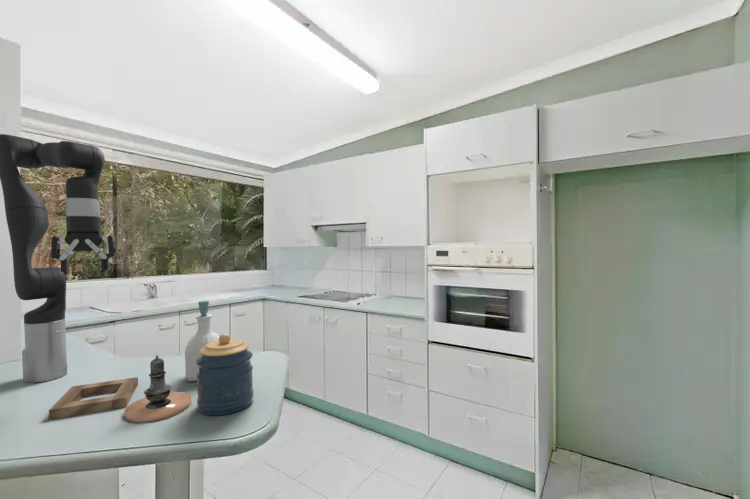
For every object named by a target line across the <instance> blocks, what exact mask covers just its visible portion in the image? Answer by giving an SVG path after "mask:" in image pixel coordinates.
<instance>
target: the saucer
mask: <svg viewBox="0 0 750 499" xmlns="http://www.w3.org/2000/svg"><path fill="white" fill-rule="evenodd" d="M167 399H170V400H171V402H170V404H168V405H166V406H164V407H161V408H156V409H148V408H146V405H147V404H148V403H149V402H151V401H149V400H147V398H146V396H145V397H142V398H140V399H137V400H136V401H134V402H132V403H131V404H130V403H129V405H127V407H126V408H125V410H124V419H125V420H127V421H129V422H132V423H150V422H156V421H160V420H165V419H168V418H171V417H174V416H177V415H178V414H180V413H182V412H184V411H186V410H187V409H188V408H189V407H190V406H192V396H191V395H190V394H189V393H186V392H182V391H170V394H169V396H168V397H167Z"/></svg>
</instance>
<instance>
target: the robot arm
mask: <svg viewBox="0 0 750 499" xmlns="http://www.w3.org/2000/svg"><path fill="white" fill-rule="evenodd" d="M105 161H106V159H105V155H104V152H103V151H102V150H101V149H100V148H99V147H97V146H95V145H89V144H85V143H81V142H75V141H69V140H61V141H59V142H53V141H52V142H46V143H42V142H39V141H36V140H34V139H29V138H26V137H21V136H15V135H12V134H11V135H10V134H4V133H0V184H1V188H2V194H3V202H4V212H5V219H6V223H7V228H8V229H7V230H8V232H9V239H10V244H11V253H12V265H13V280H14V283H13V284H14V289H15V290H14V291H15V292H16V295H17V297H18V298H19V299H20V300H22V301H32V300H33V301H34V300H41V299H46V301H45V302H43V303H42V304H41V305H39V306H38V307H36V308H34V309H32V310H29V311H27V312H26V313H25V314H24V315H23V328H24V331H23V332H24V349H22V350H21V356H22V357H21V358H22V359H21V360H22V382H23V383H42V382H47V381H52V380H56V379H59V378H61V377H64V376H65V375H67V374H68V363H67V362H68V361H67V360H68V359H67V358H68V357H67V334H66V333H67V332H66V309H67V298H66V297H67V276H66V275H69V274H70V270H71V269H70V260H68V259H69V258H70V257H71V256H72V255H73V254H74V253H75V252H77V253H79V252H80V253H81V252H95V253H96V254H97V255H98V256H99V257H100V258H101V259H100V262H101V264H100V265H101V267H100V268H101V270H100V271H101V273H107V271H108V270H109V269H110V263H109V262H110V258H111V259H112V258H113V257H116V256H117V249H116V238H115V236H114V235H108V236H102V229H101V228H102V227H101V206H100V203H99V201H100V200H99V185H100V184H99V183H100V180H101V174H102V171H103V169H104V165H105ZM45 167H53V168H54V167H55V168H62V169H63V168H66V169H67V168H70V169H78V170H83V171H84V174H83V175H82V176H72V177H71V176H70V177H69V178H67V179H66V181H65V192H66V193H65V194H66V195H65V196H66V197H65V199H66V200H65V201H66V202H65V210H64V214H65V222H66V224H65V225H66V226H65V227H66V228H65V229H66V235H65V236H52V237H51V247H50V258H51V259H55V260H59V261H60V267H57V266H54V267H51V266H50V267H36V268H35V267H34V268H33V266H32V259H33V255H34V252H35V249H36V248H37V246H38V245H39V243H40V242H41V240H42V239H43V238H44V236H45V235H46V233H47V232H48V229H49V228H50V226H49V225H50V221H49V215H48V209H47V206H46V204H45V202H44V200H43V199H41V197H40V196H39V195H38V193H36V192H35V191H34V190H33V189H32V188H31V187H30V185H29V184H28V183H26V181H25V180H24V179H23V177H22V175H21V173H20V171H19V168H24V169H40V168H45ZM103 241H104V243H105V244H107V247H108V253H107V252H106V251H105V249H104V248H102V247H101V244H102V242H103ZM64 242H65V243H66V244H67V245H68V247H67V248H66V249H65V250H64V252H63V253H62V254H61V245H63V244H64Z"/></svg>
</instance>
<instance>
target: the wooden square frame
mask: <svg viewBox="0 0 750 499" xmlns="http://www.w3.org/2000/svg"><path fill="white" fill-rule="evenodd" d="M138 386H139V377H138V376H137V377H135V376H134V377H129V378H123V379H114V380H107V381H100V382H94V383H93V382H92V383H89V384H81V385H72V386H71V387H69V389H68V390H67V391H65V393H64V394H63V395H62V396H61V397H60V398H59V399H58V400H57V401H56V402H55V404H53V405H52V407H50V409H48V418H49V420H54V419H60V418H67V417H73V416H79V415H85V414H92V413H96V412H102V411H108V410H113V409H114V410H115V409H121V408H125V407H126V408H127V407H128V406H129V405H128V404H130V402H131V399H132V397H133V395H134V393H135V391H136V390H137V388H138ZM111 393H115V394H114V395H109V396H108V395H107V396H101V397H97V398H90V399H83V400H81V399H82V398H84V397H85V398H86V397H89V396H97V395H103V394H111Z"/></svg>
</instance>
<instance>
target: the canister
mask: <svg viewBox="0 0 750 499" xmlns="http://www.w3.org/2000/svg"><path fill="white" fill-rule="evenodd" d="M219 336H220V337H219V340H216V341H212V342H210V343H208V344H206V346H204V347H203V348H201V349H200V351H199V352H200V354H201V356H200V357H199V358H198V359H197V360H196V364H197V365H198V366H199V369H198V372H197V374H196V377H197V381H196V383H197V384H196V385H197V389H196V390H197V398H196V401H197V402H196V405H197V407H198V412H199V413H201V414H202V415H206V416H212V417H213V416H215V417H216V416H225V415H230V414H234V413H237V412H240V411H242V410H244V409H246V408H247V407H249V406H250V405H251V404H252V402H253V399H254V389H253V388H254V386H253V383H254V382H253V368H254V367H253V365H252V362H251V361H252V360H251V359H252V358H253V354H254V353H253V352H252V351H250V350H249V346H250V345H249V344H248V343H247V342H246V341H243V340H242V339H239V338H231V336H230V334H228V333H221V335H219Z"/></svg>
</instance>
